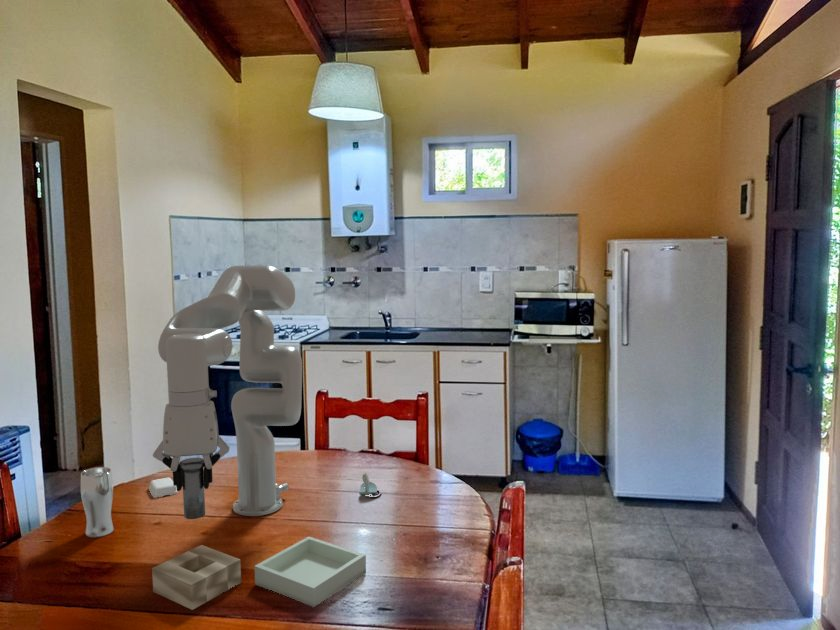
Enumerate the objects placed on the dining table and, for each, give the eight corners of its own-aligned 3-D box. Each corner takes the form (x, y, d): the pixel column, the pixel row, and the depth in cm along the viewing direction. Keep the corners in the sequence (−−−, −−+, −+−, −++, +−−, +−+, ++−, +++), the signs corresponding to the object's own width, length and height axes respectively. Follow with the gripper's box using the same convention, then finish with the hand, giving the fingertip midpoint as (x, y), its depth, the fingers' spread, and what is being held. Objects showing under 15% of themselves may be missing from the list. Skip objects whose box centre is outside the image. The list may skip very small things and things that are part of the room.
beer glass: (103, 539, 157) (99, 477, 155) (76, 537, 158) (72, 475, 157) (121, 527, 164) (118, 467, 162) (96, 524, 165) (92, 465, 163)
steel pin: (196, 508, 137) (194, 456, 136) (212, 513, 134) (210, 460, 133) (176, 516, 133) (174, 463, 132) (192, 522, 130) (189, 467, 129)
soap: (179, 494, 185) (179, 484, 185) (153, 500, 181) (152, 489, 181) (172, 484, 193) (172, 474, 192) (147, 489, 189) (147, 479, 189)
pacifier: (382, 490, 187) (360, 489, 187) (382, 468, 187) (361, 468, 187) (380, 500, 180) (358, 499, 180) (381, 478, 179) (358, 477, 179)
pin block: (202, 567, 144) (201, 544, 143) (241, 582, 137) (240, 559, 136) (153, 591, 134) (151, 568, 133) (192, 609, 127) (191, 585, 126)
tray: (309, 553, 150) (308, 536, 149) (366, 572, 141) (365, 554, 140) (255, 584, 136) (254, 565, 136) (314, 608, 127) (313, 588, 127)
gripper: (235, 390, 136) (238, 477, 138) (146, 395, 133) (151, 484, 135) (232, 399, 129) (236, 491, 131) (139, 404, 125) (144, 498, 128)
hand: (193, 486), depth 133 cm, fingers closed on steel pin, 4 cm apart
